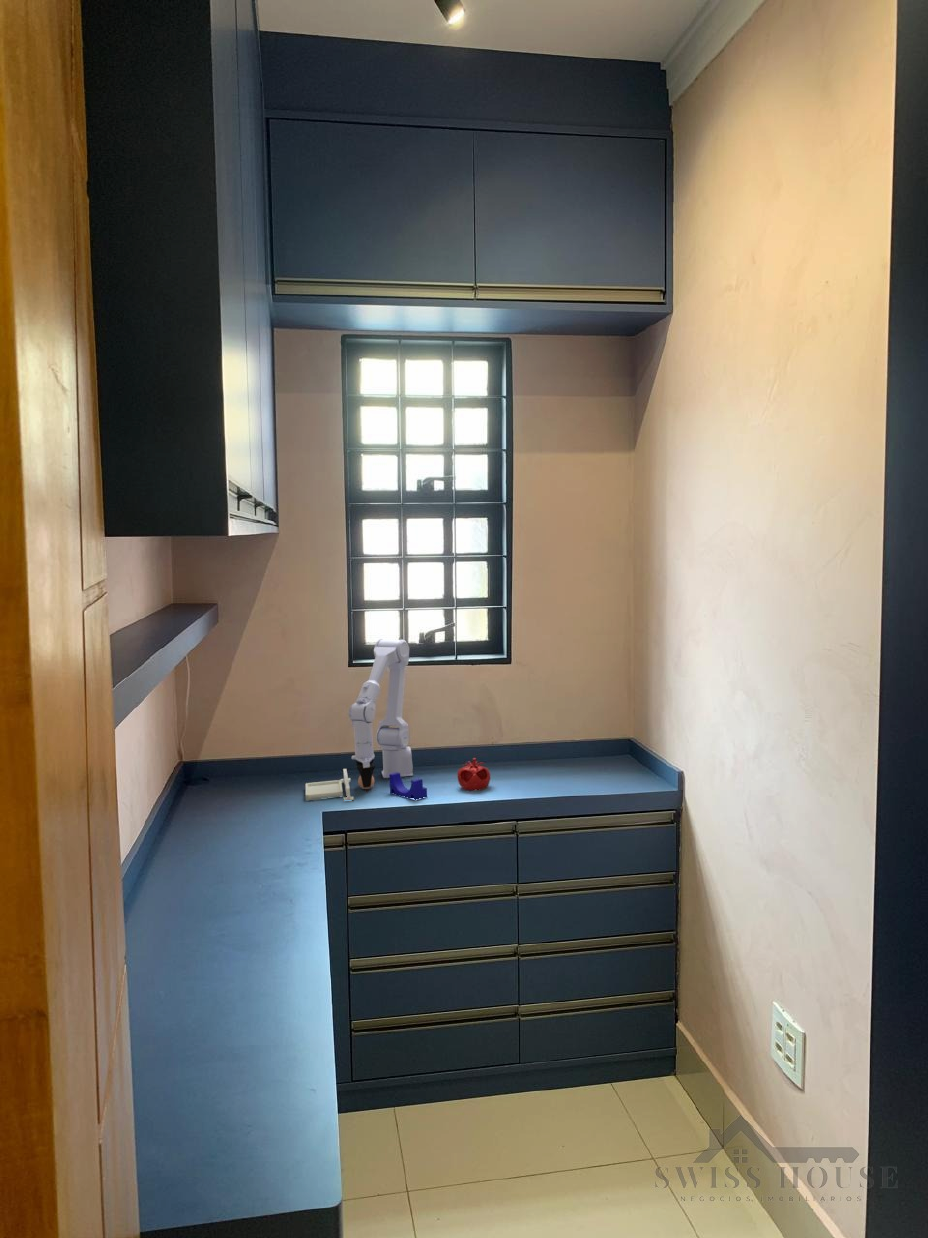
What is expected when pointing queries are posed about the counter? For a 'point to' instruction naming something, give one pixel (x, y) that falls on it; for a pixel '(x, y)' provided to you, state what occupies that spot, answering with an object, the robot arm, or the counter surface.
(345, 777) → the low wall
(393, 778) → the cable clip
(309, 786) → the resting dish
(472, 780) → the red carved pumpkin
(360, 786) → the ball
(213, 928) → the counter surface
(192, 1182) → the counter surface
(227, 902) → the counter surface
